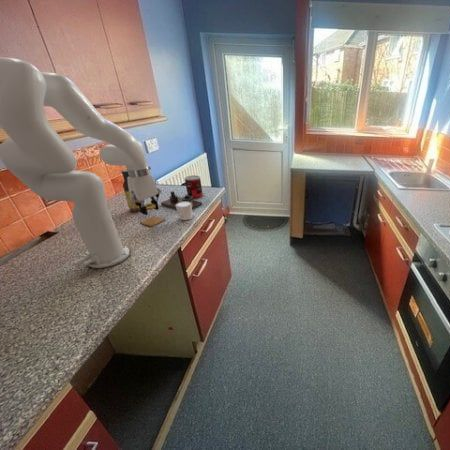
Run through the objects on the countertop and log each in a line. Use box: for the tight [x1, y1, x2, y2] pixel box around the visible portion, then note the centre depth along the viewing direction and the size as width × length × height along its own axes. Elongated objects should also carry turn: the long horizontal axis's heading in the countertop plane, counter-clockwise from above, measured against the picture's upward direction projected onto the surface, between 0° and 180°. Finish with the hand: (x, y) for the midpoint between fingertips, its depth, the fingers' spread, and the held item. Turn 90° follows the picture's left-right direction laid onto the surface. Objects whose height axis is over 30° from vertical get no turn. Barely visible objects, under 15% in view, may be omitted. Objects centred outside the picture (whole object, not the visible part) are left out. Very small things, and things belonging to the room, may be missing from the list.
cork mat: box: [140, 216, 165, 227], centre depth 114 cm, size 7×7×1 cm
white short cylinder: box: [175, 201, 193, 221], centre depth 117 cm, size 7×7×7 cm
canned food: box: [184, 174, 204, 199], centre depth 140 cm, size 8×8×11 cm
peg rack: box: [160, 190, 203, 211], centre depth 130 cm, size 10×18×6 cm, turn 67°
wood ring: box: [181, 196, 194, 202], centre depth 127 cm, size 5×5×1 cm
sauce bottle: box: [121, 169, 141, 213], centre depth 120 cm, size 6×6×20 cm
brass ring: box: [144, 202, 156, 211], centre depth 111 cm, size 5×5×1 cm
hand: (150, 211), depth 112 cm, fingers closed on brass ring, 5 cm apart
